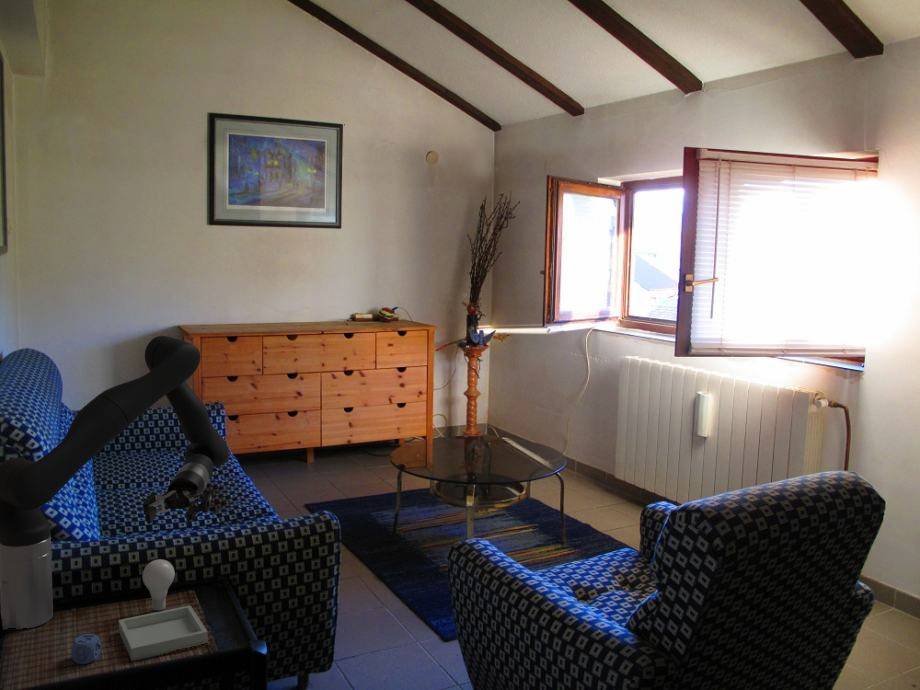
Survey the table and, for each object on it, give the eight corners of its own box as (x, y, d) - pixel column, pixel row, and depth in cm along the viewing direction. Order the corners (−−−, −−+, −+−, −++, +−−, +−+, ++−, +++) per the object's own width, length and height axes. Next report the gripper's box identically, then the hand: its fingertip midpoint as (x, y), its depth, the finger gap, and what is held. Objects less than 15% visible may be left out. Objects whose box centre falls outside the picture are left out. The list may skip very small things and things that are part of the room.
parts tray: (131, 661, 153) (131, 648, 153) (118, 631, 164) (118, 620, 164) (207, 643, 161) (207, 631, 161) (190, 616, 172) (190, 605, 171)
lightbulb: (164, 618, 170) (163, 568, 169) (136, 615, 172) (135, 564, 170) (180, 605, 177) (180, 556, 175) (153, 602, 178) (153, 553, 176)
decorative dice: (101, 653, 156) (101, 633, 155) (93, 664, 152) (93, 644, 152) (80, 653, 156) (79, 633, 155) (71, 664, 152) (70, 644, 151)
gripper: (156, 470, 194) (133, 505, 179) (217, 468, 195) (199, 502, 179) (160, 499, 197) (137, 535, 181) (221, 497, 197) (203, 533, 182)
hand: (168, 519), depth 180 cm, fingers open, 8 cm apart
